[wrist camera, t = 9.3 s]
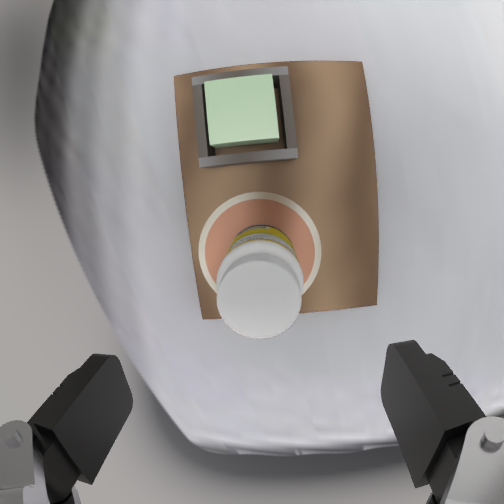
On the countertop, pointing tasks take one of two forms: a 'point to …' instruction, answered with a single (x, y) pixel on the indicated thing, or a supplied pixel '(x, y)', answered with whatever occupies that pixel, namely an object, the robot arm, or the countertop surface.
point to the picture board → (288, 181)
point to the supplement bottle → (260, 283)
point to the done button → (241, 111)
